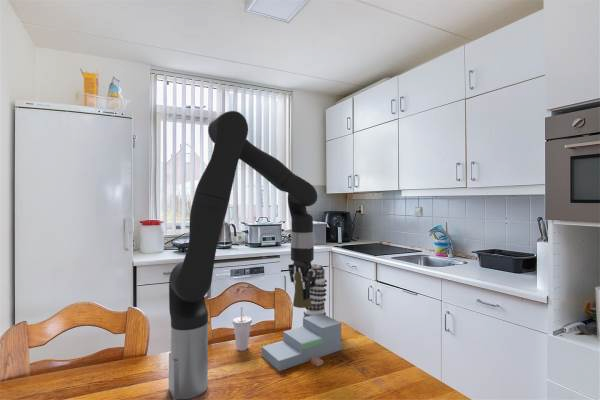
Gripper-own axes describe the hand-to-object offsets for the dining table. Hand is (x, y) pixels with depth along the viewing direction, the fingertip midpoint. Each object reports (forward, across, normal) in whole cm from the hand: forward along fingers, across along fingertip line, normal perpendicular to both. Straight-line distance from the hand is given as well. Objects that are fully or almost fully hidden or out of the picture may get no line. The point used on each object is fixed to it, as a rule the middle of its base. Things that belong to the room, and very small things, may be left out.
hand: (302, 297), depth 103 cm
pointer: (+18, +8, 0) cm, 20 cm away
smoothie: (+18, -14, -15) cm, 27 cm away
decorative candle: (+18, -12, +14) cm, 26 cm away
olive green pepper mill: (+2, 0, 0) cm, 2 cm away
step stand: (+18, 0, 0) cm, 18 cm away
